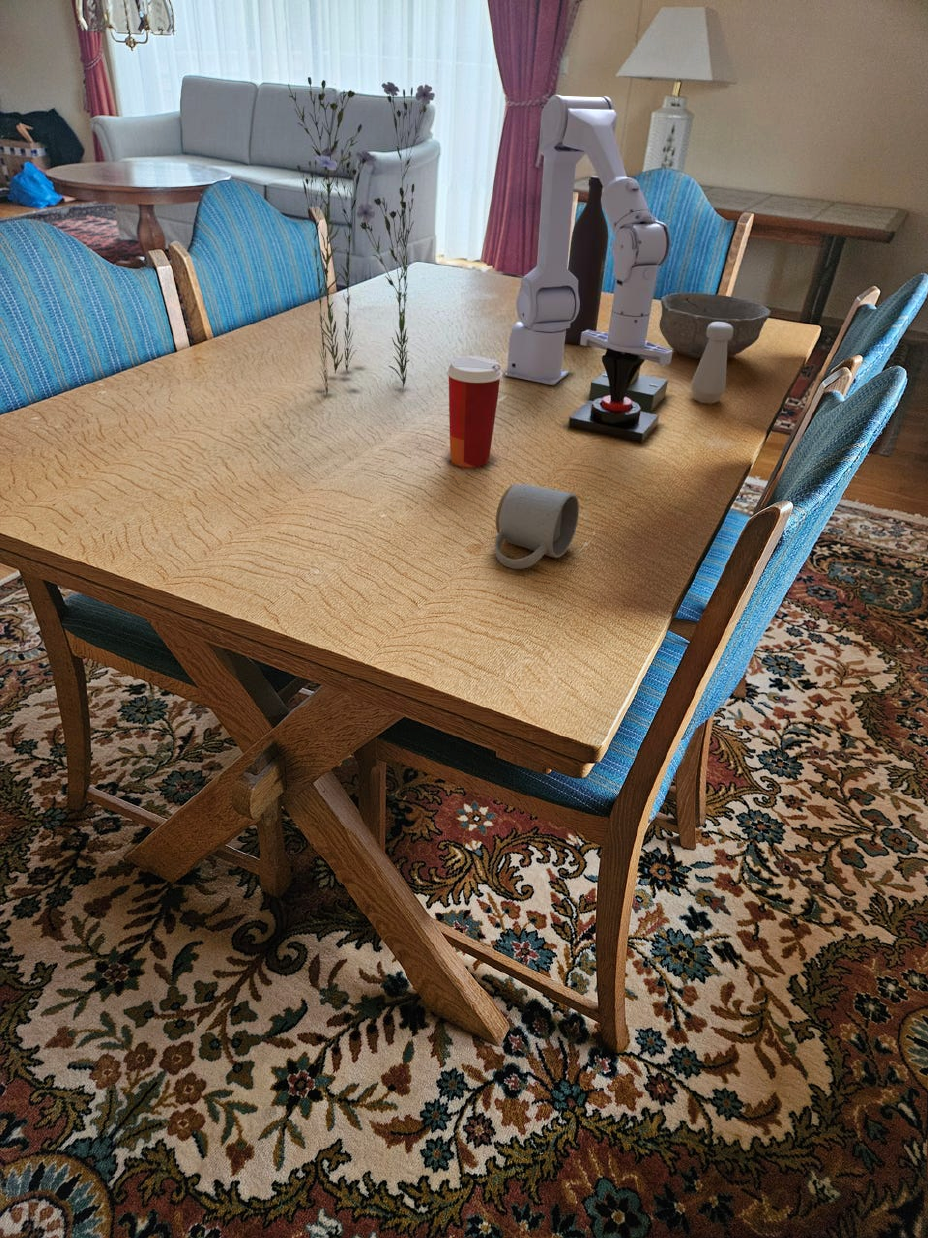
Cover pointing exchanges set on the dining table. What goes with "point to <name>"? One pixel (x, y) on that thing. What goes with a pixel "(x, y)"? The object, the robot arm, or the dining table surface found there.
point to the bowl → (709, 321)
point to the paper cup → (472, 408)
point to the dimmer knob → (635, 376)
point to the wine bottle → (588, 261)
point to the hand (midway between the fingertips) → (617, 399)
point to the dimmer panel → (633, 390)
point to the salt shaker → (712, 365)
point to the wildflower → (360, 213)
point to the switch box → (614, 421)
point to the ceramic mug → (535, 522)
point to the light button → (616, 404)
